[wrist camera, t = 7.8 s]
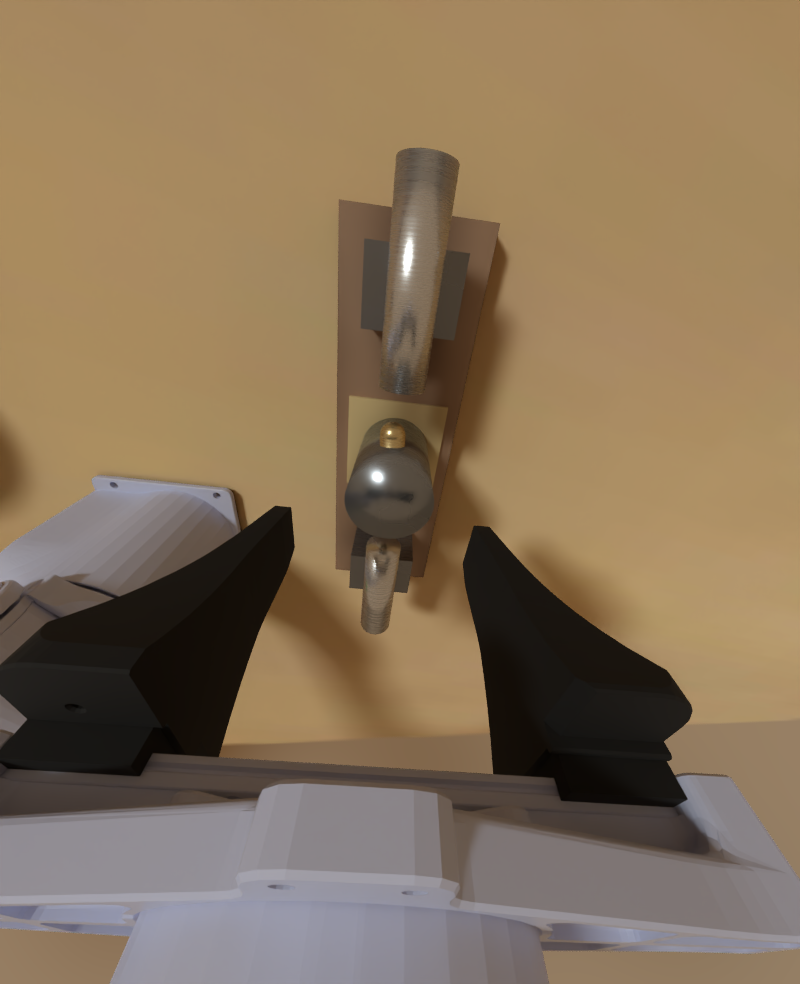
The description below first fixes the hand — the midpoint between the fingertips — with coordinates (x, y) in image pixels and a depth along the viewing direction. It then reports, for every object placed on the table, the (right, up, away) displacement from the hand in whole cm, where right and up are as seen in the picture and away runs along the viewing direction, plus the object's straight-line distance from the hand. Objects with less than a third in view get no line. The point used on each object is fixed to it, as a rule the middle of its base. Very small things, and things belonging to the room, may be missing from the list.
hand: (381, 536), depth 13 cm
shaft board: (0, +5, +8) cm, 9 cm away
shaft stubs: (0, +5, +7) cm, 8 cm away
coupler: (0, +4, +7) cm, 8 cm away
